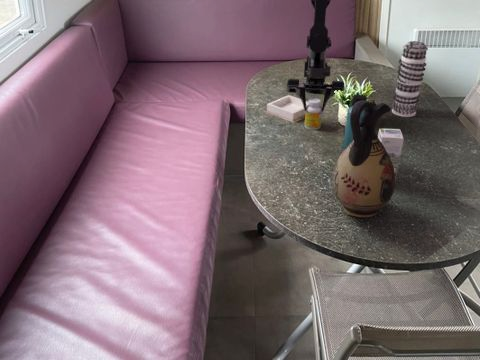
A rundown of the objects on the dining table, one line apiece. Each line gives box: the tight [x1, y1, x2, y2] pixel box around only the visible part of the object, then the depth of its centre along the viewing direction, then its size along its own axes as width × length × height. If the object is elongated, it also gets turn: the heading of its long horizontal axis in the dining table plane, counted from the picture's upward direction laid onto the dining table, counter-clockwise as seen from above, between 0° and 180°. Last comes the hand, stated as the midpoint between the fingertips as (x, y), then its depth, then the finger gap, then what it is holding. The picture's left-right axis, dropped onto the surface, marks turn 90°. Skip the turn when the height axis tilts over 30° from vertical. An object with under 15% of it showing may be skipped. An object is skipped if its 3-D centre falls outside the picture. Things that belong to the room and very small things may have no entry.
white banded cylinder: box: [391, 40, 429, 118], centre depth 176 cm, size 9×9×25 cm
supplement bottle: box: [304, 97, 323, 131], centre depth 169 cm, size 5×5×10 cm
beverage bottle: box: [342, 93, 368, 153], centre depth 148 cm, size 6×7×20 cm
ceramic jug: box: [331, 99, 396, 218], centre depth 122 cm, size 17×15×30 cm
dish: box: [266, 94, 309, 123], centre depth 181 cm, size 12×12×3 cm
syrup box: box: [377, 128, 404, 182], centre depth 139 cm, size 6×6×14 cm
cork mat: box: [263, 109, 305, 124], centre depth 182 cm, size 14×14×1 cm
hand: (313, 110), depth 167 cm, fingers closed on supplement bottle, 5 cm apart
